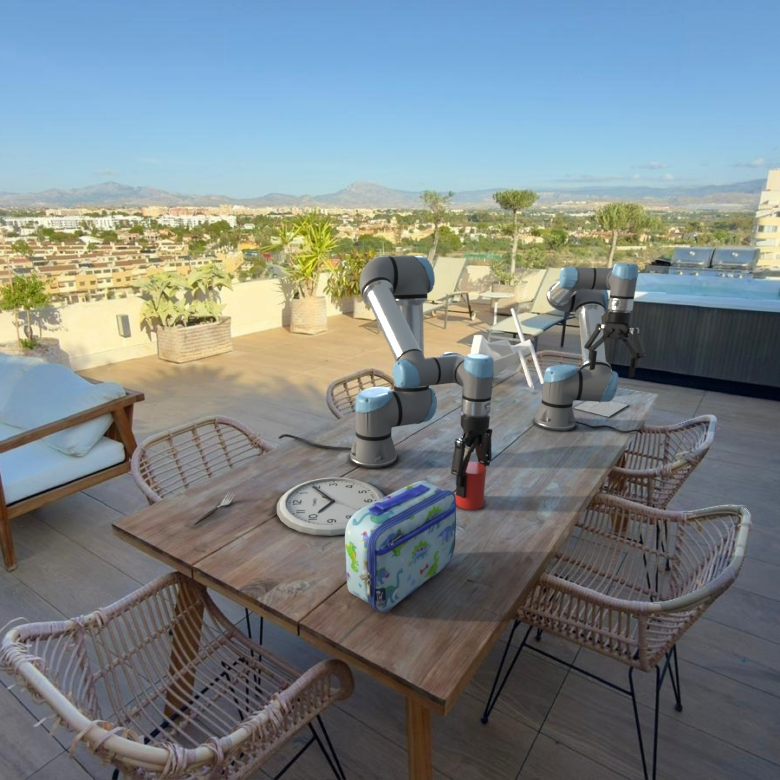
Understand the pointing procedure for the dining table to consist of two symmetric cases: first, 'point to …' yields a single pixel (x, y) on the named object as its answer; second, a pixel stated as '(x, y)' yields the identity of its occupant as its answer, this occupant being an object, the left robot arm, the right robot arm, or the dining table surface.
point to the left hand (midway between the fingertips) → (470, 490)
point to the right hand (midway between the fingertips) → (611, 373)
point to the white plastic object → (508, 352)
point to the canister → (473, 487)
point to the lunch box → (399, 543)
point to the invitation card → (601, 407)
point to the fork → (223, 503)
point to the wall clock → (325, 504)
